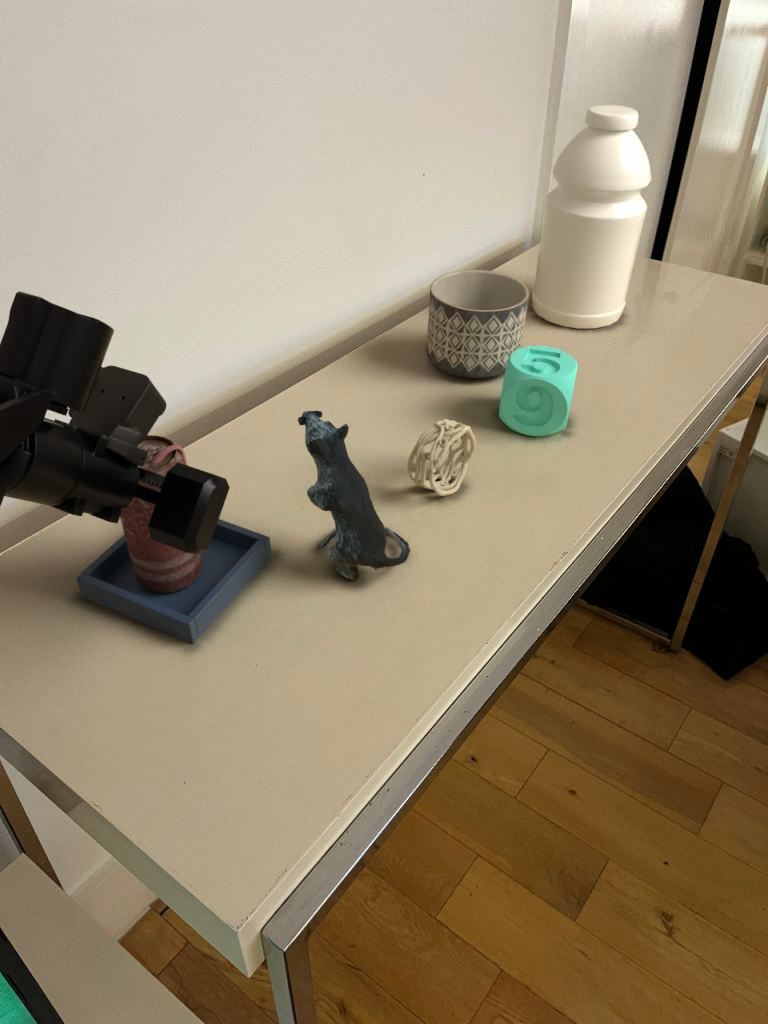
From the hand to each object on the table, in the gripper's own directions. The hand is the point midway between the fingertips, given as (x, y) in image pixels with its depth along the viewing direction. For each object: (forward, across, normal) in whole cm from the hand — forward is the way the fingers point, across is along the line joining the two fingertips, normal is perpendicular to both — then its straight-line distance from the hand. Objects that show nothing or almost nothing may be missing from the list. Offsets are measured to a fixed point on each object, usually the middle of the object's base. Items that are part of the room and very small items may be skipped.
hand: (173, 498), depth 69 cm
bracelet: (+22, -17, -10) cm, 30 cm away
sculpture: (+12, -14, 0) cm, 18 cm away
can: (+5, 0, +7) cm, 8 cm away
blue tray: (+5, 0, +7) cm, 9 cm away
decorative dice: (+35, -22, -23) cm, 47 cm away
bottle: (+58, -18, -46) cm, 76 cm away
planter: (+42, -10, -30) cm, 52 cm away
